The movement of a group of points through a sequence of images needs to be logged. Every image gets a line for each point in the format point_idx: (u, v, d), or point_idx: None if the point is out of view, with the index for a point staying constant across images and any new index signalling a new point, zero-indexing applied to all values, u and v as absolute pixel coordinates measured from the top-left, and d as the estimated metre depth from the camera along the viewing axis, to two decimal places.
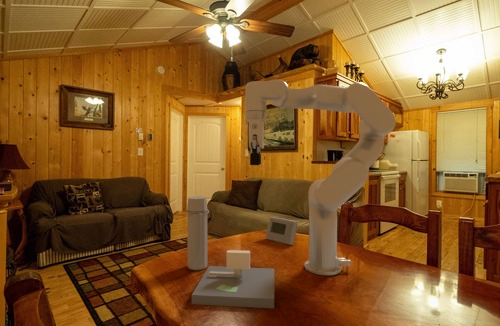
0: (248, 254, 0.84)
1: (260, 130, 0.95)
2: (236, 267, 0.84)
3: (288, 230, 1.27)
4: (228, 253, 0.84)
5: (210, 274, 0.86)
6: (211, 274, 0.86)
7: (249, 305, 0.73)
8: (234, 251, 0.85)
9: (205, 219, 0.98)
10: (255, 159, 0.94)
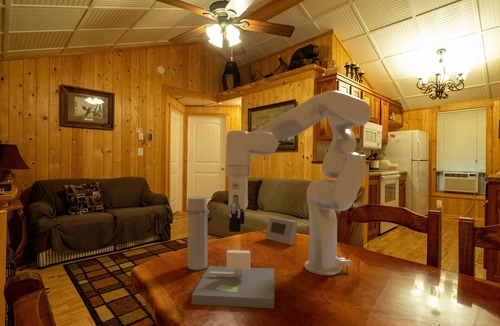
0: (248, 254, 0.84)
1: (242, 190, 0.80)
2: (236, 267, 0.84)
3: (288, 230, 1.27)
4: (228, 253, 0.84)
5: (210, 274, 0.86)
6: (211, 274, 0.86)
7: (249, 305, 0.73)
8: (234, 251, 0.85)
9: (205, 219, 0.98)
10: (235, 225, 0.79)
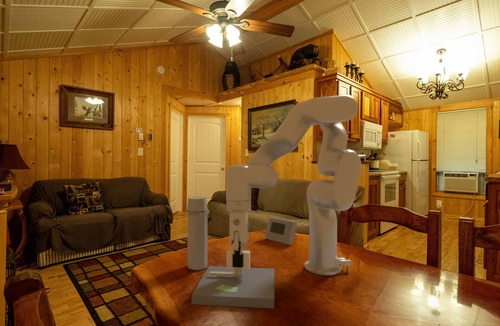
0: (248, 254, 0.84)
1: (243, 226, 0.80)
2: (236, 267, 0.84)
3: (287, 230, 1.27)
4: (228, 253, 0.84)
5: (210, 274, 0.86)
6: (211, 274, 0.86)
7: (249, 305, 0.73)
8: None
9: (205, 219, 0.98)
10: (238, 261, 0.83)
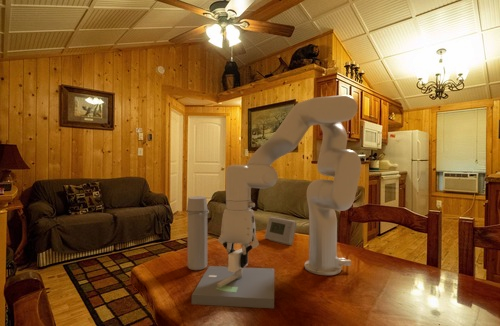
0: None
1: None
2: (240, 267, 0.84)
3: (287, 230, 1.27)
4: (235, 256, 0.82)
5: (221, 285, 0.78)
6: (222, 285, 0.78)
7: (249, 305, 0.73)
8: (236, 252, 0.84)
9: (205, 219, 0.98)
10: (247, 259, 0.84)
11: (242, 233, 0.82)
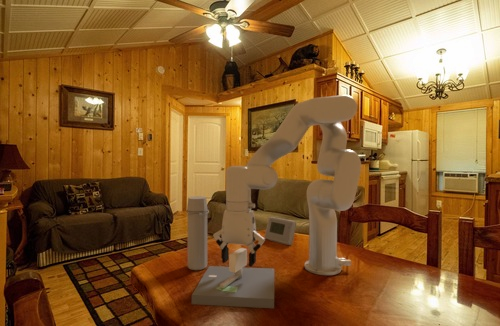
0: (246, 250, 0.88)
1: (255, 223, 0.85)
2: (240, 267, 0.84)
3: (287, 230, 1.27)
4: (236, 256, 0.82)
5: (224, 286, 0.78)
6: (225, 286, 0.78)
7: (249, 305, 0.73)
8: (237, 252, 0.84)
9: (205, 219, 0.98)
10: (255, 258, 0.84)
11: (242, 234, 0.82)
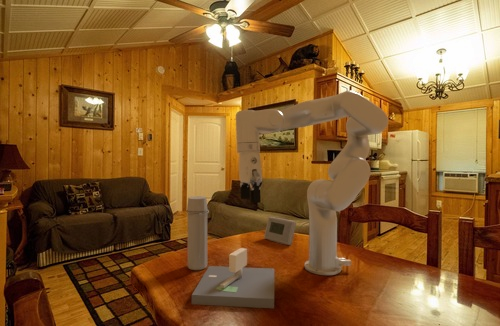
0: (246, 250, 0.88)
1: (259, 164, 0.88)
2: (240, 267, 0.84)
3: (286, 230, 1.27)
4: (236, 256, 0.82)
5: (224, 286, 0.78)
6: (225, 286, 0.78)
7: (249, 305, 0.73)
8: (237, 252, 0.84)
9: (205, 219, 0.98)
10: (257, 196, 0.86)
11: (244, 173, 0.88)
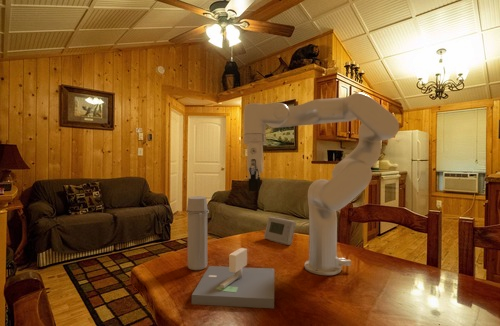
0: (246, 250, 0.88)
1: (259, 155, 0.91)
2: (240, 267, 0.84)
3: (286, 230, 1.27)
4: (236, 256, 0.82)
5: (224, 286, 0.78)
6: (225, 286, 0.78)
7: (249, 305, 0.73)
8: (237, 252, 0.84)
9: (205, 219, 0.98)
10: (254, 185, 0.91)
11: None
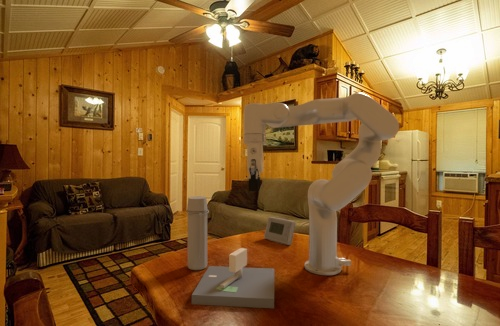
0: (246, 250, 0.88)
1: (259, 155, 0.91)
2: (240, 267, 0.84)
3: (286, 230, 1.27)
4: (236, 256, 0.82)
5: (224, 286, 0.78)
6: (225, 286, 0.78)
7: (249, 305, 0.73)
8: (237, 252, 0.84)
9: (205, 219, 0.98)
10: (254, 185, 0.91)
11: None
